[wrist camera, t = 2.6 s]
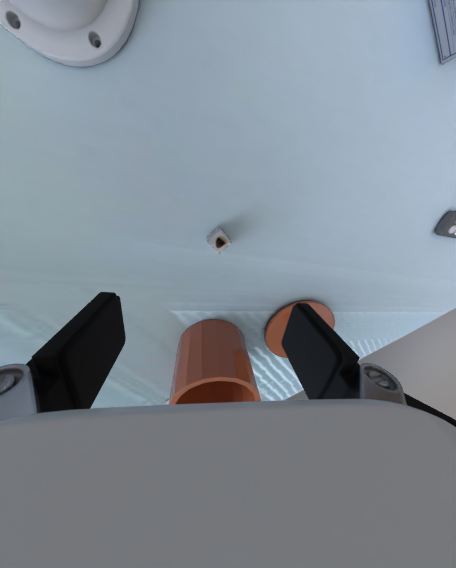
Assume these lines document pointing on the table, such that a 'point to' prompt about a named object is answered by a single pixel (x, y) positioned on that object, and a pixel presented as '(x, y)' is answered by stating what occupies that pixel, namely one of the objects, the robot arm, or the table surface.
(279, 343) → the lid
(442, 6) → the medicine box
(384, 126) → the table surface
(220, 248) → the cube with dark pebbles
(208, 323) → the canister
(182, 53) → the table surface
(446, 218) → the key chain
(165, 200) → the table surface
